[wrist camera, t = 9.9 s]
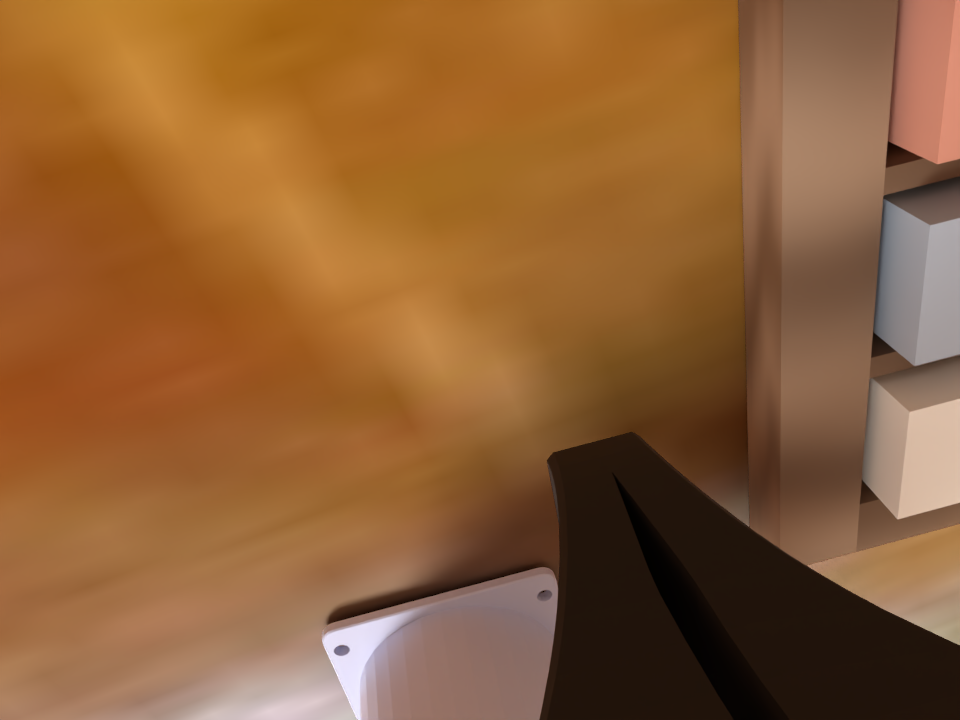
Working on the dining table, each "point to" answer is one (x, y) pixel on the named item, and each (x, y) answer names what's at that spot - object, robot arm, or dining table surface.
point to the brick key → (927, 80)
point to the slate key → (920, 272)
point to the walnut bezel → (818, 267)
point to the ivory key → (914, 438)
